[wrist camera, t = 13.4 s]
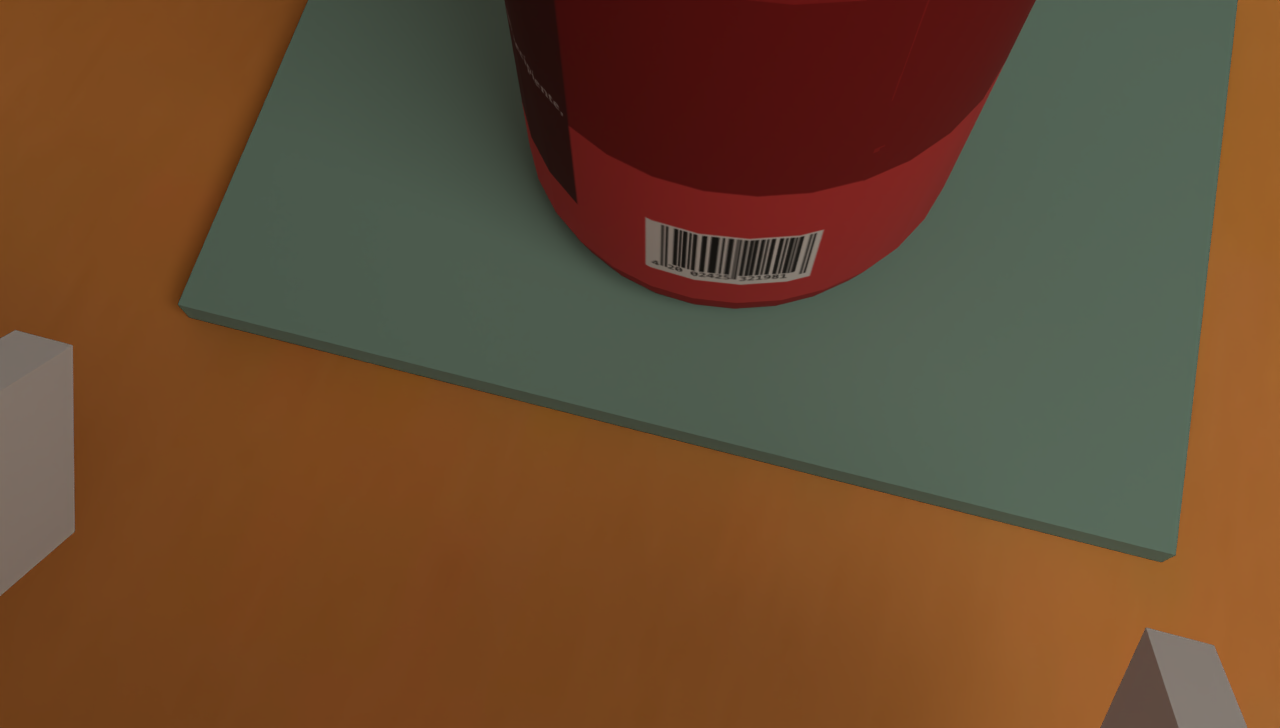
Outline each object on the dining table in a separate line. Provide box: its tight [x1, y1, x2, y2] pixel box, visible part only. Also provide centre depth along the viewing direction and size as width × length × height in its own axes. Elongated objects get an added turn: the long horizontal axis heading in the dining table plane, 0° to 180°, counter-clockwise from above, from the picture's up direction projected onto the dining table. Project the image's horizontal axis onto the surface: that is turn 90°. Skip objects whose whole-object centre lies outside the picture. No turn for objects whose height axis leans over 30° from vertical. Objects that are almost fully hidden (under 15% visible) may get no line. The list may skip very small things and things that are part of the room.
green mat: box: [178, 0, 1238, 562], centre depth 24 cm, size 18×12×1 cm, turn 75°
